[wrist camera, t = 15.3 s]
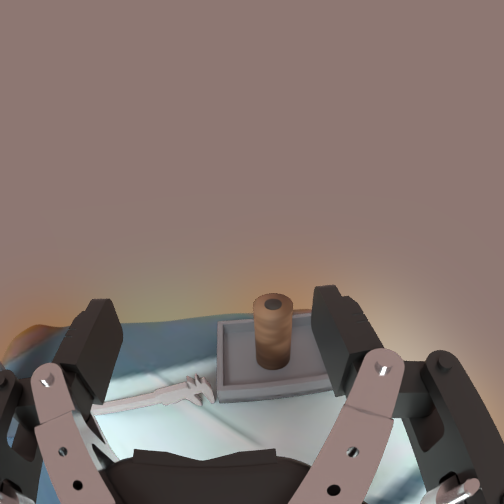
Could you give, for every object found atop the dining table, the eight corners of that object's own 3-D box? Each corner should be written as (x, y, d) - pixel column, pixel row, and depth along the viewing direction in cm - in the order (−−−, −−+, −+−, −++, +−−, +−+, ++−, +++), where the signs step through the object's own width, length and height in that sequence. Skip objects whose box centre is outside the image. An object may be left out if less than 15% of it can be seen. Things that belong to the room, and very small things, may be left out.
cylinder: (257, 371, 38) (254, 318, 33) (254, 347, 42) (251, 293, 38) (292, 368, 38) (296, 314, 33) (287, 344, 43) (289, 290, 38)
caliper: (214, 398, 35) (207, 370, 32) (215, 404, 34) (208, 377, 31) (81, 410, 31) (61, 384, 28) (80, 416, 30) (60, 390, 27)
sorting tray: (219, 403, 34) (216, 391, 33) (219, 334, 47) (217, 321, 45) (336, 389, 35) (340, 376, 34) (313, 325, 47) (314, 312, 46)
